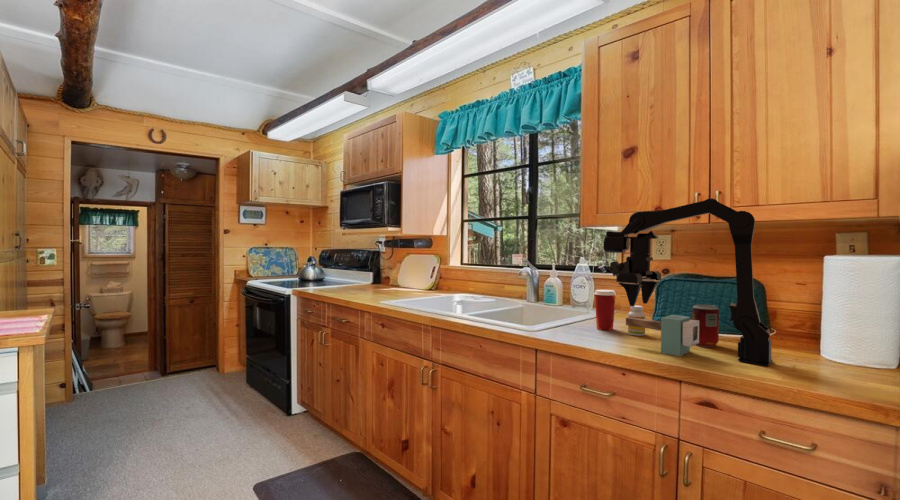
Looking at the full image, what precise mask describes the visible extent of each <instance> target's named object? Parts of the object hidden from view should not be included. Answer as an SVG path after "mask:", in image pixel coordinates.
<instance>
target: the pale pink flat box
mask: <svg viewBox="0 0 900 500" xmlns="http://www.w3.org/2000/svg"><path fill="white" fill-rule="evenodd" d="M693 327H696V330H695V334H694V335H693ZM698 343H699V320H692V319H690V320H688V321H685V322H683V345H684V346H690V348H692V347H693V346H697V345H696V344H698Z"/></svg>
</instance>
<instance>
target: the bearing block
mask: <svg viewBox="0 0 900 500" xmlns="http://www.w3.org/2000/svg"><path fill="white" fill-rule="evenodd" d="M688 320H691V316H686V315H677V314H670V315H666V316H663V317H661V330H660V353H661V354H663V355H664V354H665V355H670V356H676V357H681V356H683V355H686V354H688V353H690V351H691V347H690V346H684V345H683V322H685V321H688Z"/></svg>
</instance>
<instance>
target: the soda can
mask: <svg viewBox="0 0 900 500" xmlns="http://www.w3.org/2000/svg"><path fill="white" fill-rule="evenodd" d="M719 314H720V309H719V307H718V306H716V305H713V304H701V303H700V304H694V305H693V306H692V308H691V320H699V343H698V344H696V345H695V346H697V347H702V348H716V346H717V344H718V343H719V339H720V337H719V335H720V333H719V331H720V330H719V329H720V327H719V325H720V319H719V317H720V315H719Z"/></svg>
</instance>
